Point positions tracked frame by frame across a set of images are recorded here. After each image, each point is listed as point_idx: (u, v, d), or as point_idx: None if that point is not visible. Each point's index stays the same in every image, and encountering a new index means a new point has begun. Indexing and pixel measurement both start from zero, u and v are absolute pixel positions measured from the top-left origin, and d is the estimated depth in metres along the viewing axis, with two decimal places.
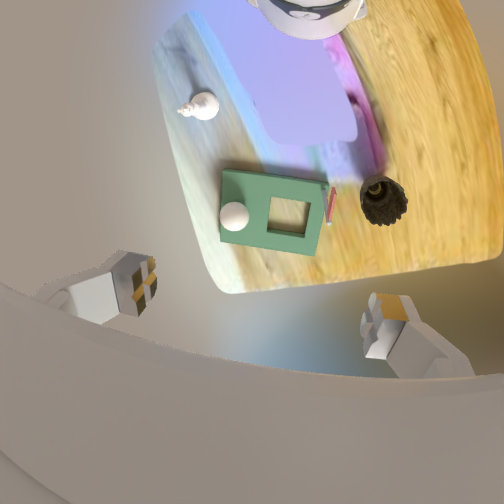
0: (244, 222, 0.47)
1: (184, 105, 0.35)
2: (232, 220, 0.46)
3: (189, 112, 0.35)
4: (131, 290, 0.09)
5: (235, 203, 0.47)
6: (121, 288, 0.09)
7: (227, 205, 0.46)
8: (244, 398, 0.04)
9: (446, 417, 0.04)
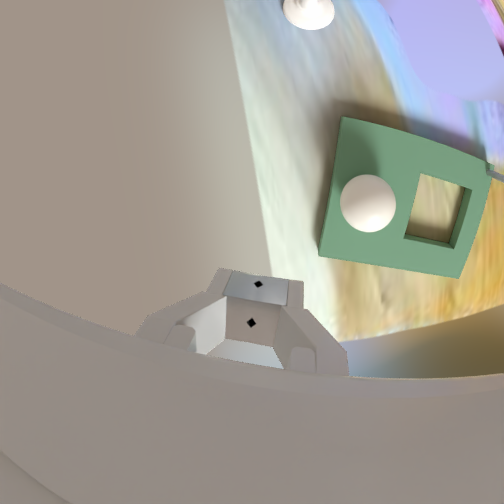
0: (393, 213, 0.21)
1: None
2: (378, 206, 0.20)
3: None
4: (249, 315, 0.08)
5: (375, 176, 0.21)
6: (235, 313, 0.08)
7: (361, 178, 0.21)
8: (244, 398, 0.04)
9: (446, 417, 0.04)
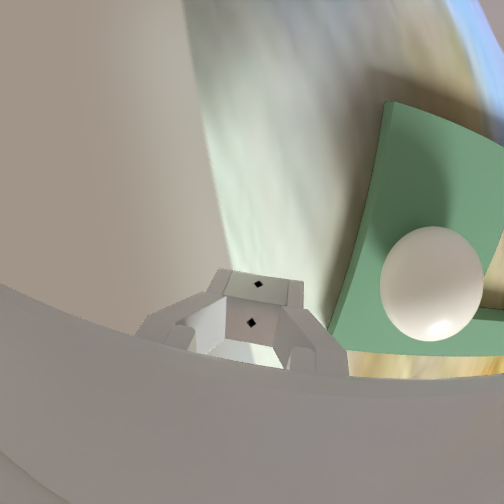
0: (476, 308, 0.09)
1: None
2: (461, 309, 0.08)
3: None
4: (249, 315, 0.08)
5: (455, 234, 0.09)
6: (235, 313, 0.08)
7: (433, 241, 0.09)
8: (244, 398, 0.04)
9: (446, 417, 0.04)
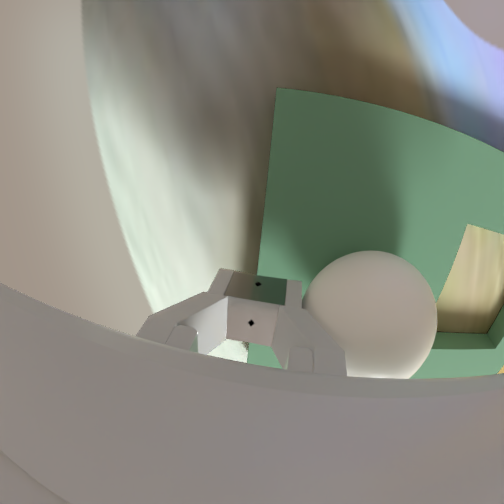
0: None
1: None
2: (421, 358, 0.07)
3: None
4: (250, 315, 0.08)
5: (396, 263, 0.08)
6: (236, 313, 0.08)
7: (373, 287, 0.07)
8: (244, 398, 0.04)
9: (446, 417, 0.04)
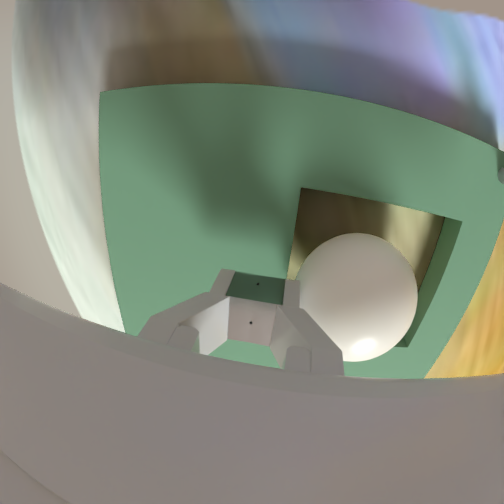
0: None
1: None
2: None
3: None
4: (252, 315, 0.08)
5: (369, 237, 0.09)
6: (238, 314, 0.08)
7: None
8: (244, 398, 0.04)
9: (446, 417, 0.04)
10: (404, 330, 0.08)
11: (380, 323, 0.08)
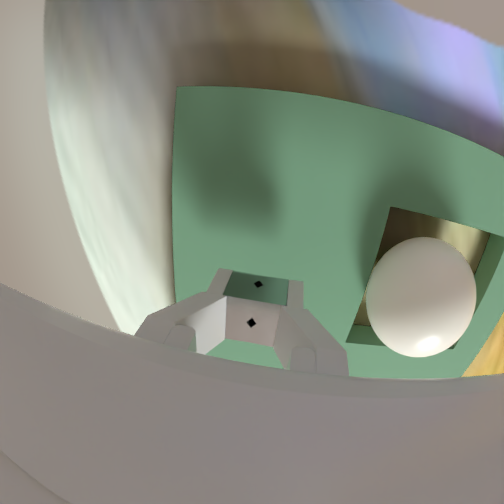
0: (367, 287, 0.11)
1: None
2: None
3: None
4: (249, 315, 0.08)
5: (430, 237, 0.10)
6: (235, 313, 0.08)
7: None
8: (244, 398, 0.04)
9: (446, 417, 0.04)
10: (469, 313, 0.08)
11: (450, 298, 0.08)
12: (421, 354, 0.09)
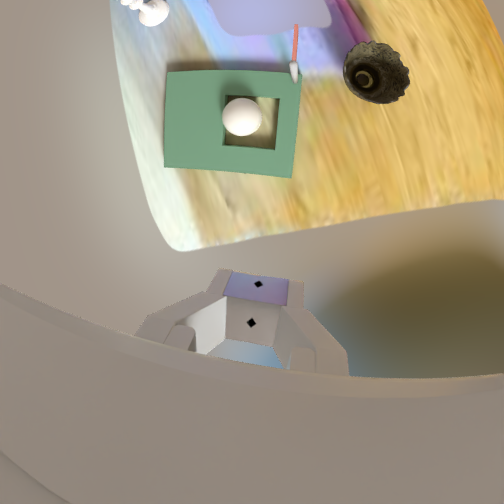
0: None
1: None
2: None
3: None
4: (249, 315, 0.08)
5: None
6: (235, 313, 0.08)
7: None
8: (244, 398, 0.04)
9: (446, 417, 0.04)
10: (251, 109, 0.30)
11: (240, 104, 0.30)
12: (238, 124, 0.31)
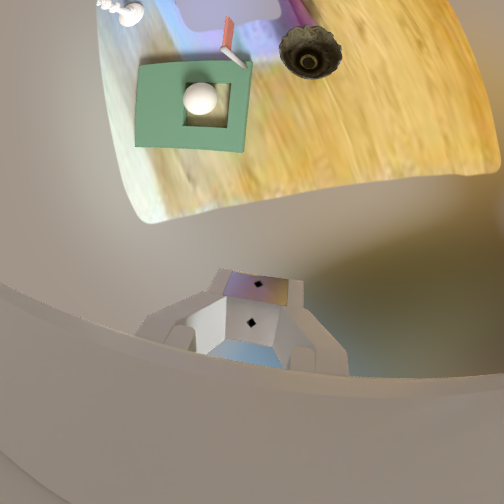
0: None
1: None
2: None
3: (107, 4, 0.24)
4: (249, 315, 0.08)
5: None
6: (235, 313, 0.08)
7: None
8: (244, 398, 0.04)
9: (446, 417, 0.04)
10: (208, 90, 0.34)
11: (199, 86, 0.33)
12: (196, 102, 0.34)
